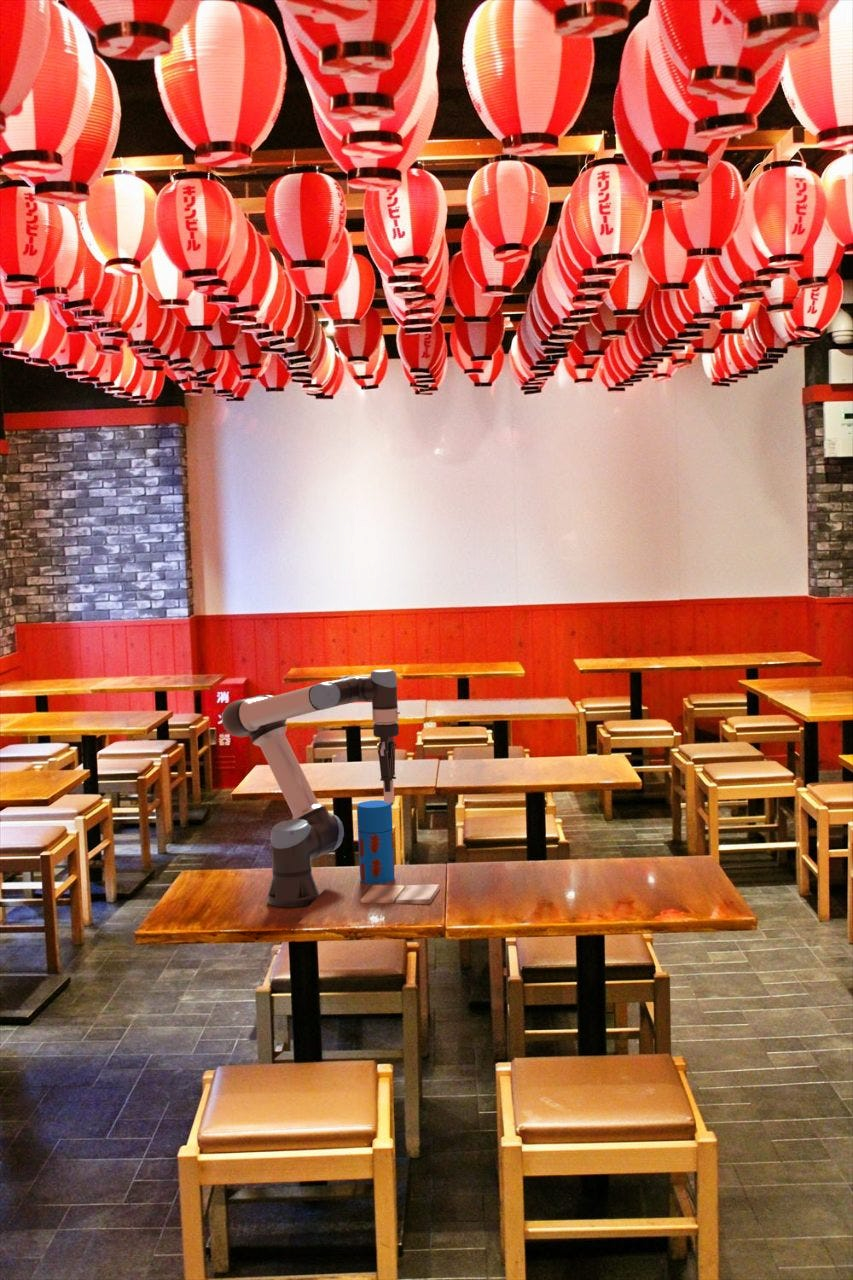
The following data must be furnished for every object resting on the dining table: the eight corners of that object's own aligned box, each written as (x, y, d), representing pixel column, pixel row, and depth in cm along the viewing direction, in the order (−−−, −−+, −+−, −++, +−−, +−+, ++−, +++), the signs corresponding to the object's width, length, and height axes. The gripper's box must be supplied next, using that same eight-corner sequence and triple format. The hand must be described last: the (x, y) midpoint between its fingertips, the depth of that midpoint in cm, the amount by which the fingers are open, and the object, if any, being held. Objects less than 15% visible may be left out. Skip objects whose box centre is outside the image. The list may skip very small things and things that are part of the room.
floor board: (360, 907, 347) (360, 900, 347) (373, 891, 363) (373, 884, 362) (431, 908, 343) (430, 901, 343) (441, 892, 358) (441, 885, 358)
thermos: (394, 887, 366) (390, 807, 364) (359, 888, 366) (355, 808, 364) (395, 877, 377) (392, 799, 375) (361, 878, 377) (358, 800, 375)
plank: (396, 906, 345) (395, 900, 345) (407, 891, 360) (407, 885, 360) (430, 905, 343) (429, 899, 343) (439, 890, 358) (439, 884, 358)
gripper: (393, 725, 342) (396, 806, 344) (403, 719, 355) (406, 797, 356) (367, 726, 343) (371, 806, 345) (378, 719, 356) (382, 797, 358)
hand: (389, 801), depth 351 cm, fingers closed
